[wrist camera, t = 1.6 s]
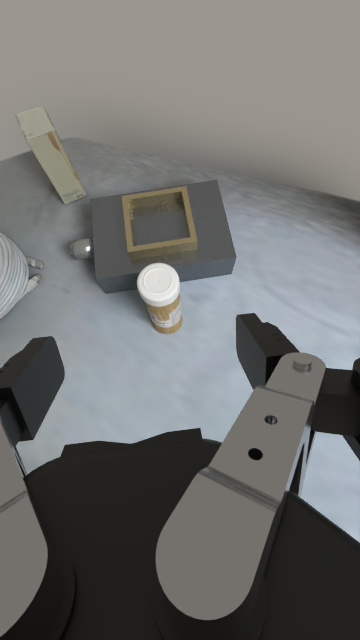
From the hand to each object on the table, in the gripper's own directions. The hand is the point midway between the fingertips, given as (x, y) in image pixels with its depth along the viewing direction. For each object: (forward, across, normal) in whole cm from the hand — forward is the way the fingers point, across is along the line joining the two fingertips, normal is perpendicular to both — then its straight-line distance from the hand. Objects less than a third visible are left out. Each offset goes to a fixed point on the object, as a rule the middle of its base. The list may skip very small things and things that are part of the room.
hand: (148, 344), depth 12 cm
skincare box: (+46, +14, -8) cm, 49 cm away
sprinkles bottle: (+28, 0, +12) cm, 30 cm away
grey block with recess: (+36, +1, +2) cm, 36 cm away
